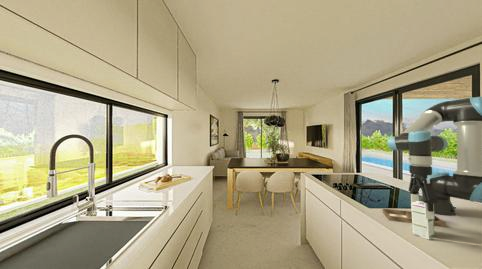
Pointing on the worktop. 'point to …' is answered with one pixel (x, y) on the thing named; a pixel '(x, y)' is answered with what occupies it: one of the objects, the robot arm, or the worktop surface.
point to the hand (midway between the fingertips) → (421, 213)
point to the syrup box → (421, 221)
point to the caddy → (406, 217)
